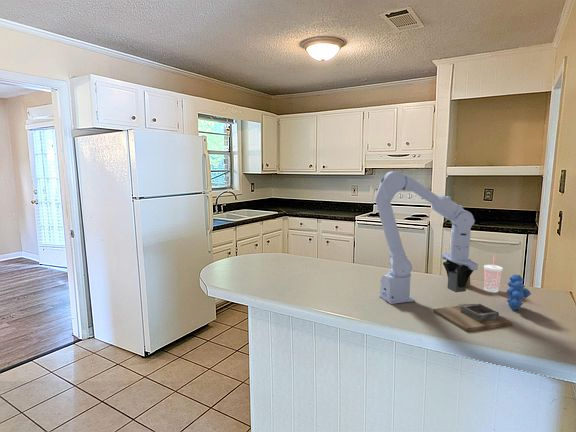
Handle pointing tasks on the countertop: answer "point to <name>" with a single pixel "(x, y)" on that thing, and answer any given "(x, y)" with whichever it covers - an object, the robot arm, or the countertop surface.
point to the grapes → (516, 292)
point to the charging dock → (472, 317)
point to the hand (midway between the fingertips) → (456, 284)
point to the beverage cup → (492, 277)
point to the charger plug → (454, 282)
